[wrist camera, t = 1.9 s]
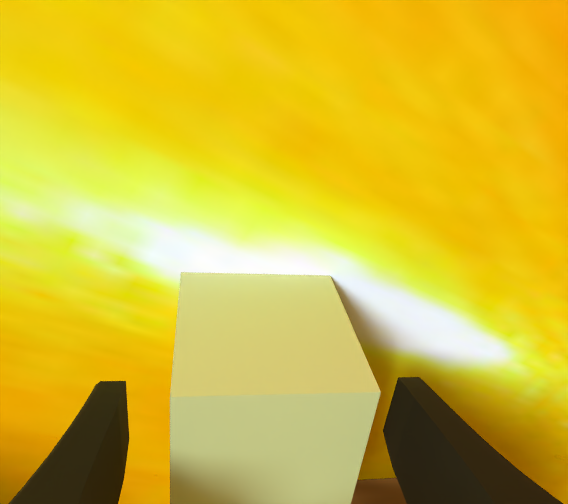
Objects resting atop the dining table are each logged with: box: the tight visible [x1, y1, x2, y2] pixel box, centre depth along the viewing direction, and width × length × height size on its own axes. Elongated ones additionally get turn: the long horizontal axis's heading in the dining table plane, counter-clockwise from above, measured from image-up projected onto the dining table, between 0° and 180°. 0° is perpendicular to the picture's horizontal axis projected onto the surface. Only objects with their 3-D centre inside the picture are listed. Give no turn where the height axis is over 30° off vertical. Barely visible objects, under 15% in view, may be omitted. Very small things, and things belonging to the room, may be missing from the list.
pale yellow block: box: [170, 272, 381, 504], centre depth 13 cm, size 4×4×5 cm
